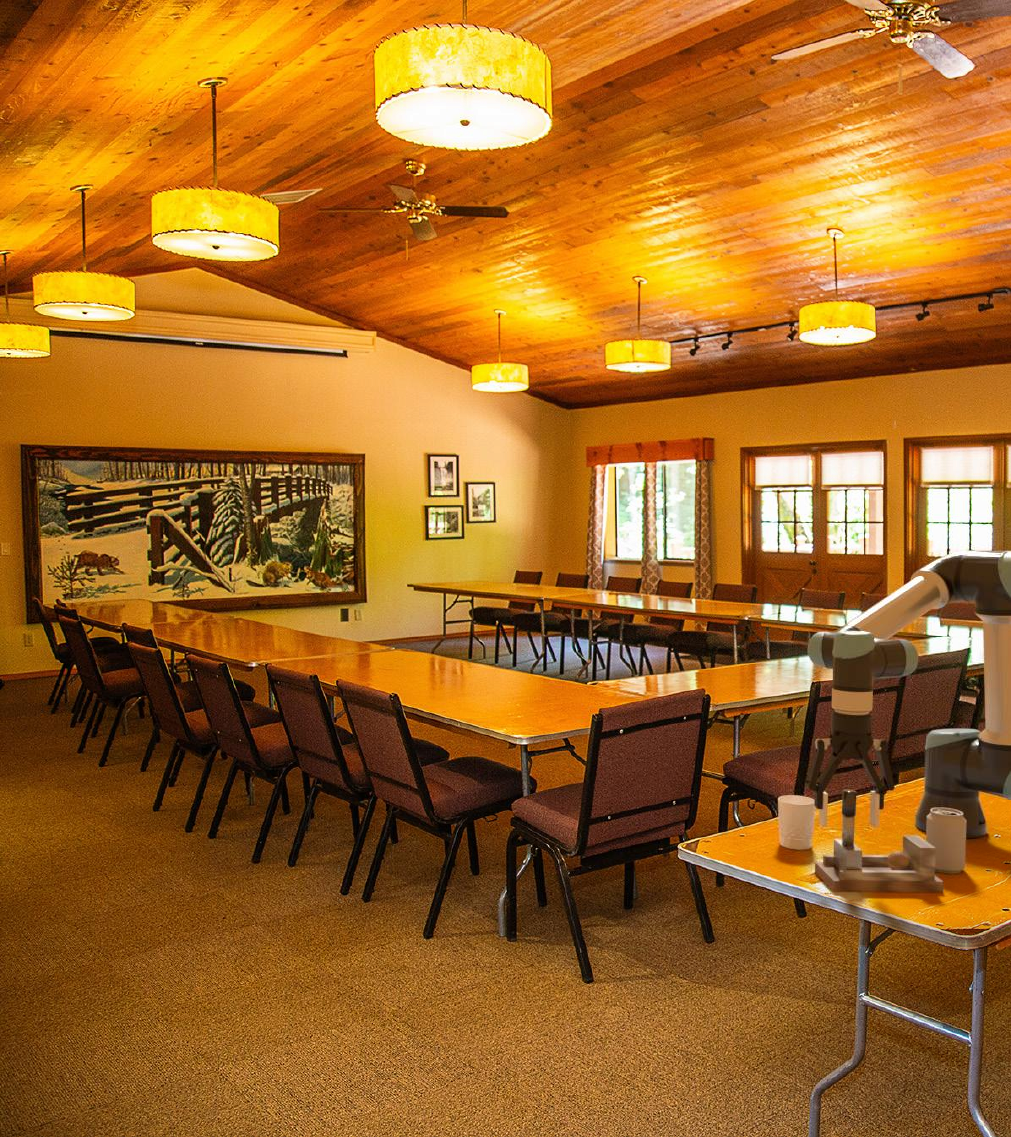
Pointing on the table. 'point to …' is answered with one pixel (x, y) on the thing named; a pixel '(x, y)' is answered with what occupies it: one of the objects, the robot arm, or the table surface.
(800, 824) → the white cup
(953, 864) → the can
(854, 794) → the ram
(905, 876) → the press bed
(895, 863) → the tan ball
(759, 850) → the table surface
